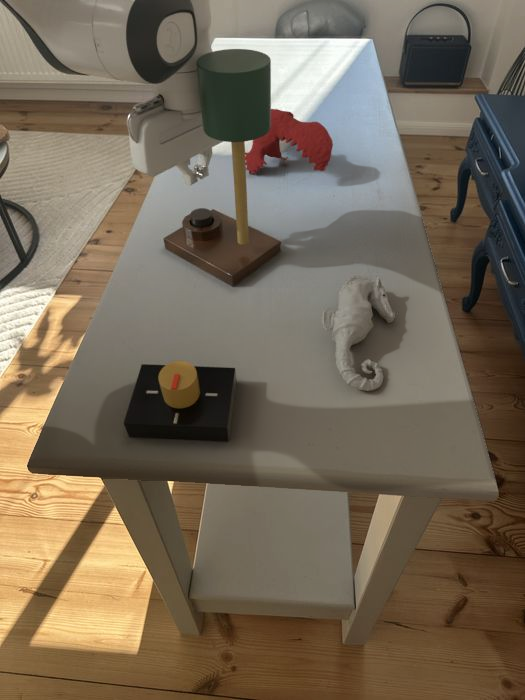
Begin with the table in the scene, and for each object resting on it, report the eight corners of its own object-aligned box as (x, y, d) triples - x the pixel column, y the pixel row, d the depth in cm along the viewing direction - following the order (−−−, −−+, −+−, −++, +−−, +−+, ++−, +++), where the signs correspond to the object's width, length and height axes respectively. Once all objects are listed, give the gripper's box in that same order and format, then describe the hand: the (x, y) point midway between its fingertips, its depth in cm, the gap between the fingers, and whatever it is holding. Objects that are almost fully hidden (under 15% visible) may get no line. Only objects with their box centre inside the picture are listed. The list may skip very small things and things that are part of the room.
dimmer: (128, 437, 57) (122, 422, 55) (146, 378, 63) (141, 363, 61) (228, 442, 57) (227, 427, 54) (236, 382, 63) (235, 366, 60)
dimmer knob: (167, 378, 59) (162, 358, 57) (202, 380, 59) (199, 359, 56) (159, 407, 56) (153, 387, 54) (196, 409, 56) (192, 389, 53)
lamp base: (165, 248, 83) (161, 228, 80) (214, 219, 89) (212, 199, 86) (232, 287, 76) (231, 266, 73) (281, 252, 82) (281, 231, 79)
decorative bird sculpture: (312, 210, 99) (351, 142, 95) (289, 194, 91) (331, 119, 87) (226, 163, 113) (257, 102, 110) (199, 146, 105) (232, 80, 102)
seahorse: (421, 388, 60) (395, 271, 71) (338, 373, 57) (324, 253, 68) (398, 406, 64) (377, 293, 75) (319, 393, 61) (310, 276, 72)
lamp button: (187, 223, 82) (185, 214, 81) (202, 214, 84) (201, 205, 82) (201, 231, 80) (200, 222, 79) (217, 222, 82) (216, 212, 81)
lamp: (203, 243, 77) (180, 62, 58) (241, 219, 82) (231, 44, 63) (245, 265, 73) (235, 78, 54) (282, 239, 78) (285, 58, 58)
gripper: (140, 115, 60) (160, 214, 70) (249, 70, 70) (253, 161, 80) (109, 103, 62) (132, 200, 73) (218, 61, 73) (225, 151, 83)
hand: (196, 179), depth 76 cm, fingers closed
